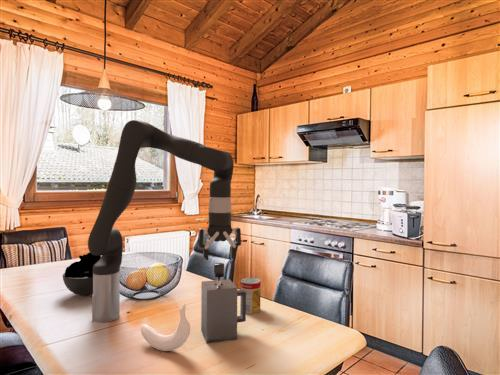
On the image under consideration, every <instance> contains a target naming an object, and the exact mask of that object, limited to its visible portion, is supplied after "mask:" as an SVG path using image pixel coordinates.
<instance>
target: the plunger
mask: <svg viewBox="0 0 500 375" xmlns="http://www.w3.org/2000/svg"><path fill="white" fill-rule="evenodd" d="M213 277H214V278H217V279H216V280H217V286H221V280H222V278H223V277H225V263H224V262H216V263H213Z"/></svg>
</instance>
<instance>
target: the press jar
mask: <svg viewBox="0 0 500 375" xmlns="http://www.w3.org/2000/svg"><path fill="white" fill-rule="evenodd" d="M200 294H201V295H200V296H201V297H200V298H201V300H200V301H201V305H200V306H201V309H200V310H201V311H200V314H201V315H200V316H201V318H200V321H201V322H200V324H201V325H200V326H201V327H200V328H201V330H200V331H201V333H202V335H203V338H204V341H205V342H206V344H211V343H213V344H214V343H220V342H227V341H234V340H235V341H236V340H238V323H245V322H246V321H247V320H246V319H247V316H246V315H247V314H246V292H245V291H244V290H241V289H238V287H237V286H236V284H235V283H234V282H233V281H232V280H231V279H221V286H217V279H215V280H206V281H205V280H204V281H203V280H202V281H201V293H200ZM238 297H240V306H239V308H240V311H239V312H240V314H239V315H238Z"/></svg>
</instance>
